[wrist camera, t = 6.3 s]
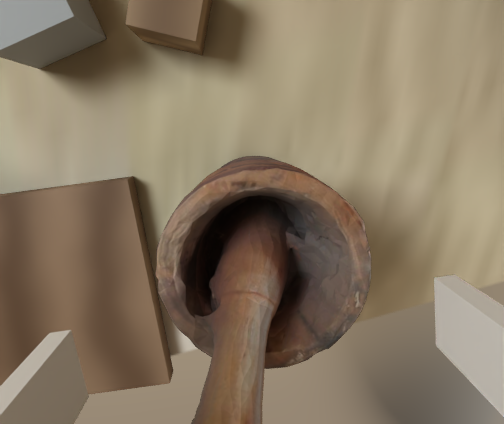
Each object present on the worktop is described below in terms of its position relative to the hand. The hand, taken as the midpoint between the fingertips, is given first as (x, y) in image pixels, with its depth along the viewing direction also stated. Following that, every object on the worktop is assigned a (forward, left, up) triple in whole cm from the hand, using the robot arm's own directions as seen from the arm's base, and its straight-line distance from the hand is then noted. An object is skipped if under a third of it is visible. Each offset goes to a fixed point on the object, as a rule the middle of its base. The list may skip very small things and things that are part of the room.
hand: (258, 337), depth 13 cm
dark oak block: (+3, -15, -15) cm, 21 cm away
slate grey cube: (+11, -16, -15) cm, 24 cm away
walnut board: (+17, +3, -15) cm, 22 cm away
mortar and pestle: (0, 0, -15) cm, 15 cm away
